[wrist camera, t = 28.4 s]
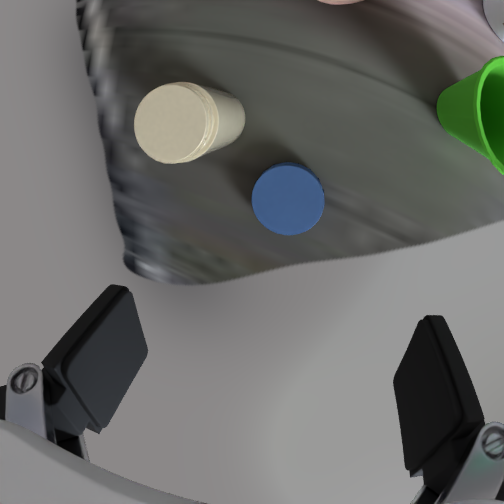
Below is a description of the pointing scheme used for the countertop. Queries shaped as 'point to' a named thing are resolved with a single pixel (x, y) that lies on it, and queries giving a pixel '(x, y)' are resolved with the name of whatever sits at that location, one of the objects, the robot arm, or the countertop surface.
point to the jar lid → (288, 198)
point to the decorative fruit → (340, 1)
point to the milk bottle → (495, 16)
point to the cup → (477, 111)
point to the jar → (187, 121)
